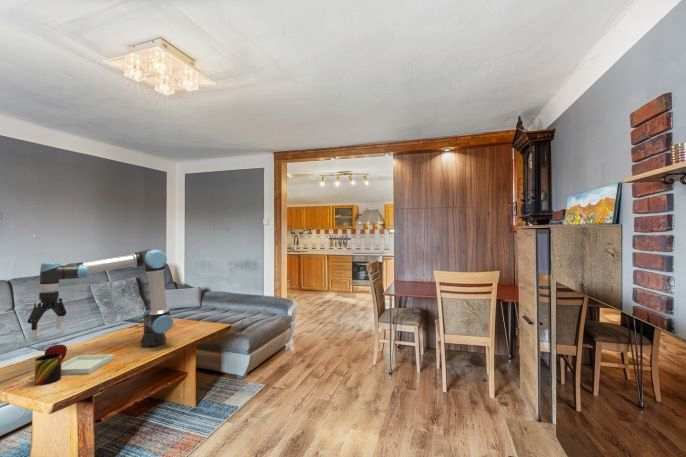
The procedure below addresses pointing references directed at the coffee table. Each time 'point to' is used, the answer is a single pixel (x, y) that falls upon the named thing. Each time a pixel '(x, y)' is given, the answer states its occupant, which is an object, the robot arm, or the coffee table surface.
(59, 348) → the apple
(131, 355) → the coffee table surface
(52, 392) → the coffee table surface
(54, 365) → the mug
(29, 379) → the coffee table surface
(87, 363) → the tray
